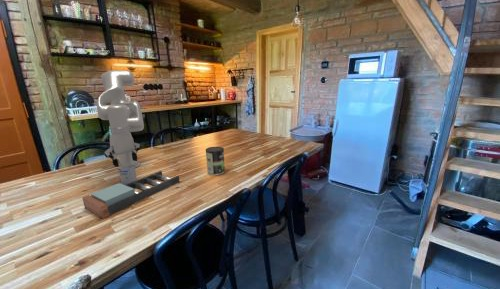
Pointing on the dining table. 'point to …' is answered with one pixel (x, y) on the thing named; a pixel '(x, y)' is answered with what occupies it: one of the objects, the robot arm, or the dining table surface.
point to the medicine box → (127, 174)
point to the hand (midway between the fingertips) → (126, 163)
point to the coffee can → (215, 160)
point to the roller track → (104, 210)
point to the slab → (114, 194)
